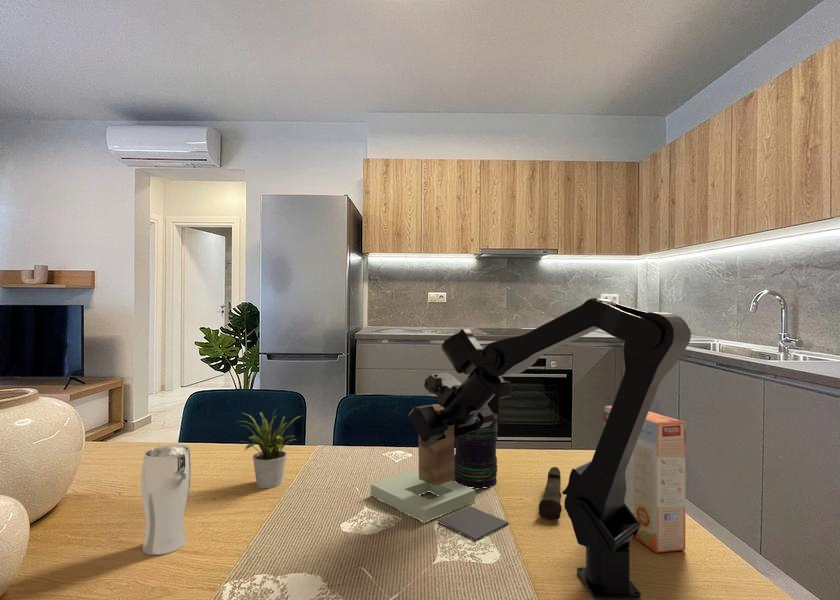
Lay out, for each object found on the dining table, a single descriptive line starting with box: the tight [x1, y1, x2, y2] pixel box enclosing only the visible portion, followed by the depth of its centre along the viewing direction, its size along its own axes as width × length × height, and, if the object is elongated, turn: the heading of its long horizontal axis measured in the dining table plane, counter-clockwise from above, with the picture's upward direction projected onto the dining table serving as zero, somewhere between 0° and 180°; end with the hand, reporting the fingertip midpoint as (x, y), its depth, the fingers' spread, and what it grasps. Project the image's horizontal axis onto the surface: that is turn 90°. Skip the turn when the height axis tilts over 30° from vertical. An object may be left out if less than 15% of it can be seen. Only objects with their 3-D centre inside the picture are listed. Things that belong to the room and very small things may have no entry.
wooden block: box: [417, 403, 455, 486], centre depth 88 cm, size 5×5×14 cm
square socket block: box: [370, 468, 476, 522], centre depth 91 cm, size 16×14×2 cm
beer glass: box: [140, 444, 192, 556], centre depth 72 cm, size 7×7×15 cm
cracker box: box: [603, 405, 686, 554], centre depth 78 cm, size 14×6×21 cm, turn 12°
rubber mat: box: [437, 505, 509, 542], centre depth 80 cm, size 9×9×1 cm
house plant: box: [235, 409, 303, 489], centre depth 98 cm, size 14×14×16 cm
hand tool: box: [538, 466, 562, 521], centre depth 91 cm, size 19×4×5 cm, turn 158°
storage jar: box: [453, 411, 499, 488], centre depth 102 cm, size 10×10×15 cm
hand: (431, 442), depth 89 cm, fingers closed on wooden block, 5 cm apart
